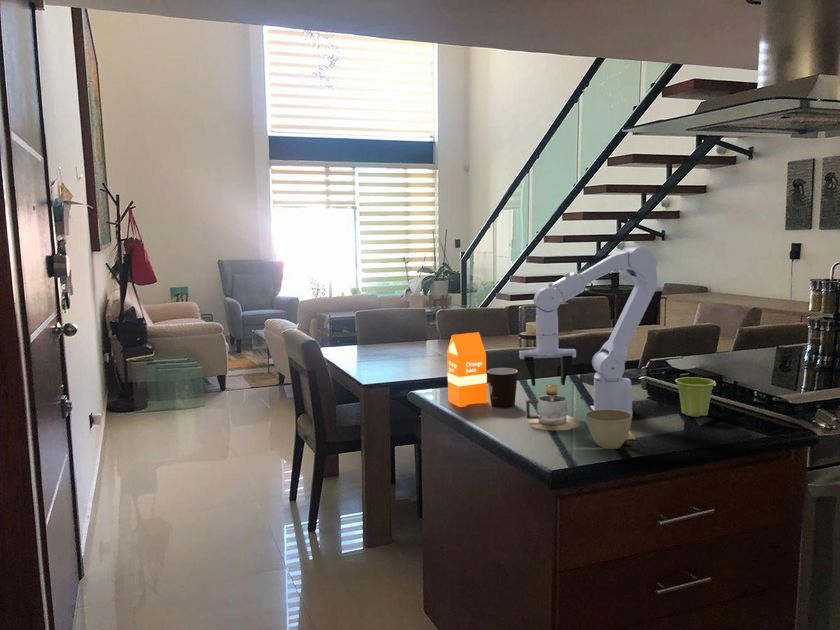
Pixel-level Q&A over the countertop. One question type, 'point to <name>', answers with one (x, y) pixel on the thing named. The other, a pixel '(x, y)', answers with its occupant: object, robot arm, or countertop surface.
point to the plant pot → (695, 395)
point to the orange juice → (466, 370)
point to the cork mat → (570, 424)
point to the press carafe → (549, 410)
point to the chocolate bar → (630, 435)
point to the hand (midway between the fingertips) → (548, 384)
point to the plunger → (551, 390)
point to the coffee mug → (502, 387)
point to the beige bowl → (609, 427)
